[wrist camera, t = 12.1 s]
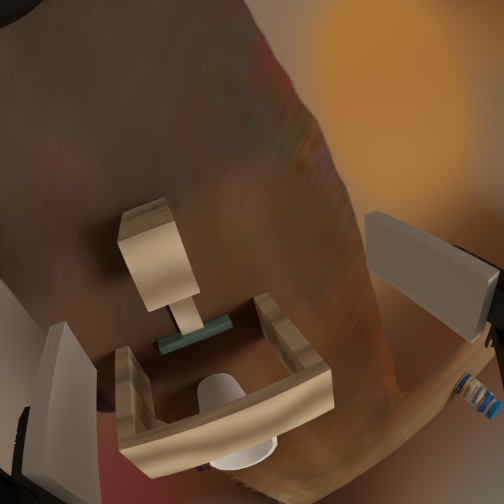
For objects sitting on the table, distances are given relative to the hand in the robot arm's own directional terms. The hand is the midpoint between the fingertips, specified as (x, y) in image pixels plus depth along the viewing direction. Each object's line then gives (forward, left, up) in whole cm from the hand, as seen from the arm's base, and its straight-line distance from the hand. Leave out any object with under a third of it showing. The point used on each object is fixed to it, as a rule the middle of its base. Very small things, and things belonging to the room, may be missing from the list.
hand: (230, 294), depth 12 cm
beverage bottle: (+89, +70, -25) cm, 116 cm away
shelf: (+21, -3, -24) cm, 32 cm away
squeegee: (+10, -3, -24) cm, 26 cm away
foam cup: (+31, -4, -25) cm, 40 cm away
